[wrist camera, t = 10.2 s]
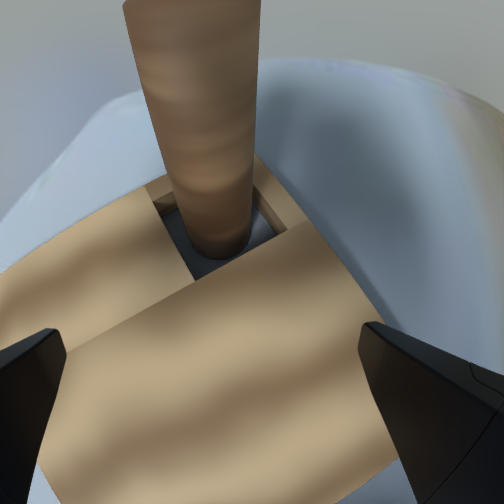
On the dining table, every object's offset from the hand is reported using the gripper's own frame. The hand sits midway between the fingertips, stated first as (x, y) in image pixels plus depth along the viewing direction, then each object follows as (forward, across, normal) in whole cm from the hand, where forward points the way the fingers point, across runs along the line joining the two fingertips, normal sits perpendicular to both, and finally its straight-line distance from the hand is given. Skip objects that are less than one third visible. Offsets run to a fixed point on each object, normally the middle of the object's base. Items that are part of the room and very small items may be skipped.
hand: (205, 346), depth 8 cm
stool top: (+7, +2, +7) cm, 10 cm away
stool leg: (+12, 0, 0) cm, 13 cm away
